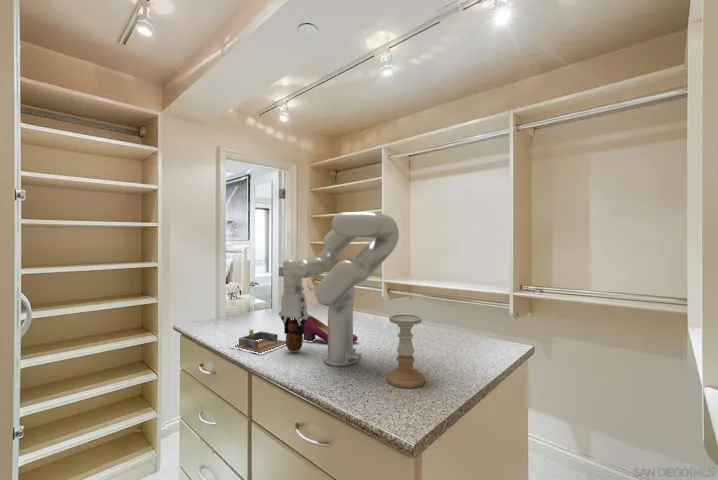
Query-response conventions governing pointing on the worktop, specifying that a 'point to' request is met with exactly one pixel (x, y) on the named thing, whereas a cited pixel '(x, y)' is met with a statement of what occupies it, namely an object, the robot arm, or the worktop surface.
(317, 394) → the worktop surface
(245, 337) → the board
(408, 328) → the candle holder
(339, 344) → the robot arm
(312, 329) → the high heel
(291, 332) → the wooden figurine
